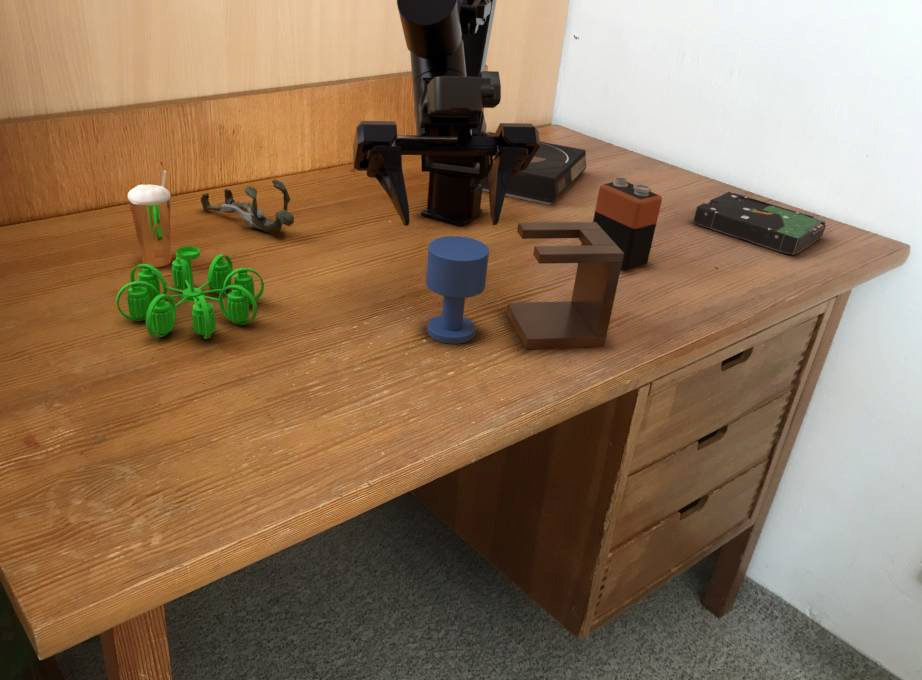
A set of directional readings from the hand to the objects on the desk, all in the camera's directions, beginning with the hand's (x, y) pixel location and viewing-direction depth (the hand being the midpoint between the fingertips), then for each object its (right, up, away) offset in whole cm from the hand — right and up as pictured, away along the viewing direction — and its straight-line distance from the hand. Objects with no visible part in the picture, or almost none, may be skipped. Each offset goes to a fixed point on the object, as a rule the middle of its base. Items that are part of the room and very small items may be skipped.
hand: (451, 224), depth 83 cm
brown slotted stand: (+11, -10, +5) cm, 16 cm away
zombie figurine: (-25, +4, +24) cm, 35 cm away
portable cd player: (+12, +16, +46) cm, 50 cm away
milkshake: (-34, -2, +13) cm, 36 cm away
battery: (+22, 0, +21) cm, 31 cm away
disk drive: (+44, +5, +33) cm, 55 cm away
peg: (0, -11, +3) cm, 11 cm away
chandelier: (-27, -9, +3) cm, 29 cm away
